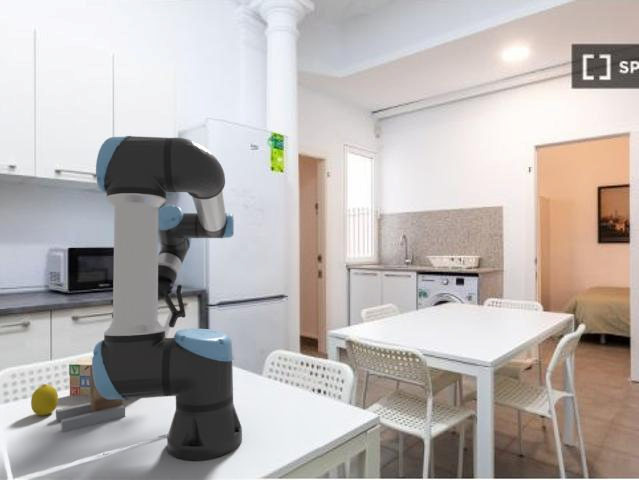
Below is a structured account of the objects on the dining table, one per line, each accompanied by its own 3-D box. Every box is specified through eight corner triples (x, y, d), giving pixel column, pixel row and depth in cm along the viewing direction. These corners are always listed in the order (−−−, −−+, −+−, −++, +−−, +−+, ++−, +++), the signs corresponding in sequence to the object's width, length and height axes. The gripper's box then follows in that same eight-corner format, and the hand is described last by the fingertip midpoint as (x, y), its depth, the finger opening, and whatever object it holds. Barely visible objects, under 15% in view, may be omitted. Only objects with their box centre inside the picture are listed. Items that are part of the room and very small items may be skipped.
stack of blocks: (68, 398, 119) (68, 353, 119) (83, 390, 125) (82, 347, 125) (144, 400, 117) (143, 354, 117) (155, 392, 123) (154, 348, 123)
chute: (125, 419, 104) (125, 407, 104) (62, 435, 96) (62, 422, 96) (115, 408, 111) (115, 396, 111) (55, 422, 103) (55, 410, 103)
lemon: (45, 422, 103) (45, 388, 103) (25, 421, 104) (25, 387, 104) (63, 413, 108) (63, 381, 108) (44, 411, 109) (44, 379, 109)
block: (122, 413, 105) (122, 368, 105) (95, 420, 102) (95, 373, 102) (117, 407, 109) (116, 363, 109) (90, 414, 106) (90, 368, 105)
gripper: (207, 285, 133) (186, 346, 118) (125, 274, 133) (94, 334, 118) (205, 269, 128) (183, 331, 113) (120, 258, 128) (86, 318, 113)
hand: (137, 333), depth 115 cm, fingers open, 13 cm apart
